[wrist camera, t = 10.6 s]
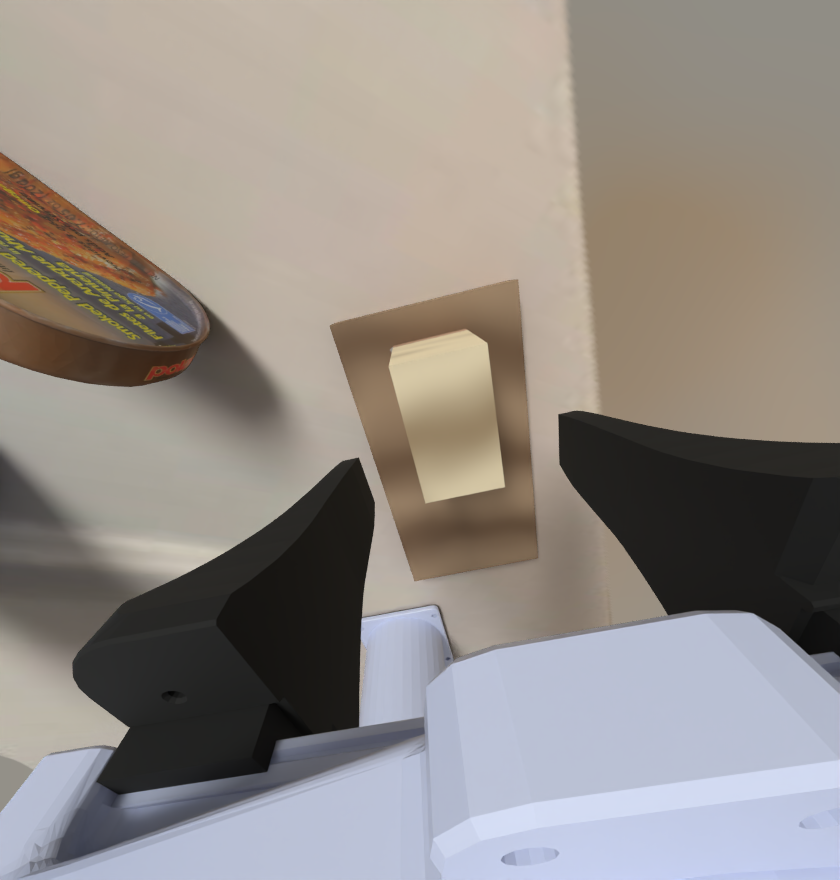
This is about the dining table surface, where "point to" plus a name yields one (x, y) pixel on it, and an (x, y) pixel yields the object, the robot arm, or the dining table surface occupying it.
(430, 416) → the block
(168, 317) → the tin
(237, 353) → the dining table surface
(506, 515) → the board
